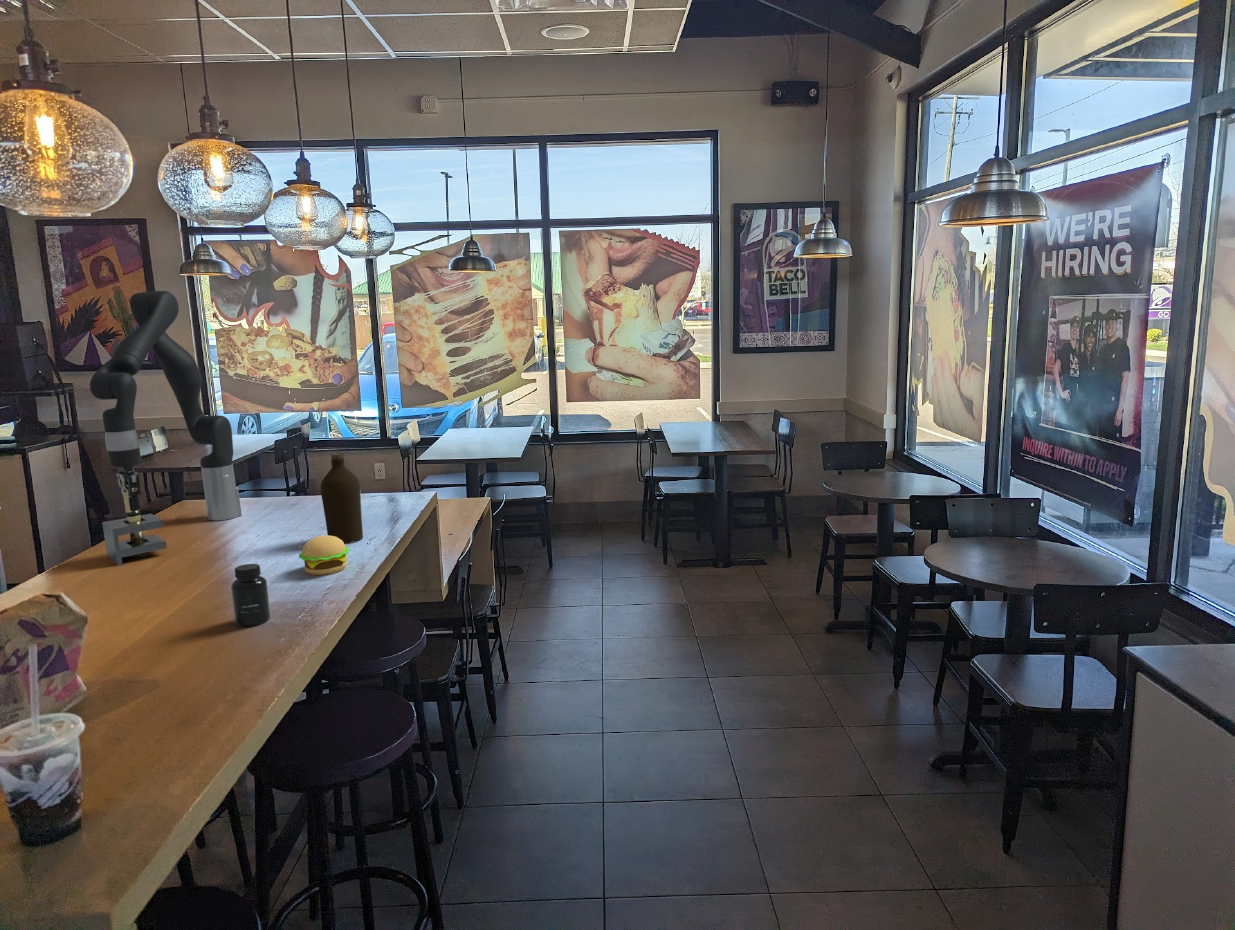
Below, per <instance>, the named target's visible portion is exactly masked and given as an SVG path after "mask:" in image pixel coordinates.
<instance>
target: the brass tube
mask: <svg viewBox="0 0 1235 930" xmlns="http://www.w3.org/2000/svg"><path fill="white" fill-rule="evenodd" d="M133 491H134V490H133ZM133 491H132V492H133ZM122 496H123V497H124V498H123V503H125V504H124V508H125V514H126V515H125V516H126V517H125V518H127V522H128V524H130V523H135V522H140V521H141V516H140V515H141V509H140V510H138V511H131V510H130V505H129V499H128V496H127V491H126V492H123V495H122ZM128 535H129V539H130V540H131V545H135V544H140V543H145V541H144V536H145V535H144V531H140V532H135V533H129V534H128ZM146 556H147V552H146V553H141V554H136V555H132V557H133V558H142V557H146Z"/></svg>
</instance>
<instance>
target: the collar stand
mask: <svg viewBox="0 0 1235 930" xmlns="http://www.w3.org/2000/svg"><path fill="white" fill-rule="evenodd" d="M140 516H141V521H140V522H135V523H130V524H128V522H127V517H124V518H119V519H113V520H108V521H102V522H101V524H102V531H103V536H104V541H105V549H106V554H107V558H108V559H109V558H110V559H111V561H112V562H113V561H114V562H115V563H116V564H115V563H114V562H113V563H114V564H115V565H116V566H118V565H119V566H122V565H123V560H122V558H126V557H130V556H133V555H136V554H141V553H146V554H147V553H149V552H155V551H158V550H159V551H161V550H165V549H167V548H168V547H167V541H166V540H165V539H163V538H162V537H160V536H158V535H157V534H155V533H153V534H146V535H144V541H145V543H140V544H135V545H131V540H130V538H128V539H127V538H126V539H122V540H119V536H123V535H130V534H129V533H135V532H140V531H143V532H144V531H149V530H155V529H160V528H164V527H165V526H164V521H163V519H162V518H160V517H159V516H156V515H154V514H153V513H148V514H140ZM110 559H109V560H110Z"/></svg>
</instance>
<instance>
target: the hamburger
mask: <svg viewBox="0 0 1235 930" xmlns="http://www.w3.org/2000/svg"><path fill="white" fill-rule="evenodd" d="M349 552H350V548H349V547H348V545H347V546H346V544H344V542H343V541H342V540H341V539H339V538H337V537H335V536H329V535H328V534H327V535H326V534H325V535H318V536H316V537H314V538H311V539H309V540H308V541H306V543H305V544H304V545H303V547H302V549H301V552H299V554H298V558H299V559H301V560H302V561H304V567H303V568H304V570H305V572H306V573H307V574H308V575H311V576H326V575H331V574H336V573H339V572H341V571H343V570H345V568H346V566H347V563H348V562H347V559H348V556H347V554H349Z"/></svg>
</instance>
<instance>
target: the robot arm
mask: <svg viewBox="0 0 1235 930" xmlns="http://www.w3.org/2000/svg"><path fill="white" fill-rule="evenodd" d="M129 307H130V312H131V315H132V317H133V318H134V321H135V322H136V323H137V325H138V327H137V328H136V329H134V330H133V331H132V332H130V333H129V334H128V335H127V336H126V337H124V338H123V339H122V340H121V341H120V342H119V343H118V344H119V345H118V346H117V347H116V349H115V350H114V353H113V355H112V356H111V358H110V359H109V360H107V361H106V362H105V363H104V364H103V365H102V366H100V367H99V368H98V369H97V370H96V371H95V373H93V374H92V376H91V378H90V382H89V391H90V393H91V394H92V396H93V397H94V398H96V399H99V400H116V404H115V406H114V407H112V408H107V409H105V410H104V411H103V412H102V421H103V429H104V435H105V436H104V437H105V438H104V439H105V440H104V441H105V449H106V455H107V461H108V465H109V467H111V468H112V467H113V468H118V469H116V470H115V475H116V479H117V484H118V488H119V492H120V493H121V495H122V496H123V492H126V491H127V496H128V499H129V505H130V510H131V511H138V510H140V511H141V507H140V505H141V504H140V500H139V497H140V496H141V494H142V493H141V485H140V483H141V481H140V474H138V472H137V470H135V467H134V466H136V465H139V464H141V463H142V456H141V450H140V441H139V438H138V433H137V430H136V423H135V415H134V413H135V412H134V411H135V404H136V399H137V391H138V389H137V388H138V385H137V382H136V379H135V378H134V377H133V376H135V375H136V374H138V372H139V371H140V369H141V367H142V365H143V364H144V362H145V360H146V358H147V356H148V354H149V352H150V351H151V349H152V351H153V352H154V354H155V356H156V358H157V360H158V362H159V365H160V367H161V369H162V372H163V374H164V376H165V378H166V381H167V382H168V385H169V386H170V388H171V390H172V391H173V395H174V397H175V399H176V401H177V403H178V406H179V407H180V410H181V413H182V416H183V418H184V421H185V425H186V428H187V430H188V433H189V435H190V436H191V438H192V440H193V441H194V442H195V443H196V444H198V445H203V446H206V445H207V446H208V445H209V446H211V445H212V447H211V448H212V449H211V450H212V451H211V452H210V453H209V454H207V455H204V456H202V457H201V458H200V470H201V477H202V483H203V490H204V497H205V498H204V500H205V504H206V505H205V506H206V512H207V513H206V514H207V519H208V520H209V521H224V520H225V521H227V520H230V519H235V518H238V517H241V516H243V515H242V507H241V499H240V498H241V497H240V492H239V491H240V490H239V487H238V486H236V484H237V483H236V478H235V471H234V464H233V458H234V457H233V456H234V444H233V443H234V441H233V430H232V426H231V422H230V420H229V419H228V418H227V417H226V416H224V415H205V414H204V411H203V409H202V407H201V404H200V400H199V399H200V394H201V389H202V385H203V384H202V383H203V377H202V373H201V371H200V369H199V366H198V364H197V362H196V360H195V358H194V357H193V355H192V354H191V353H190V352H189V351H188V350H186V349H185V348H184V347H183V346H182V345H180V344H179V343H178V342H176V341H175V340H174V339H173V338H171V336H170V335H168V333H167V332H166V331H167V330H168V329H169V327H170V326H171V325H172V324H173V323H174V321H176V320H177V317H178V315H179V311H180V310H179V302H178V300H177V298H176V296H175V295H174V294H173V293H172V292H170V291H167V290H154V291H153V290H152V291H142V292H136V293H133V294H132V295H131V297H130V299H129ZM132 491H133V492H132ZM123 499H124V497H123ZM123 503H124V502H123ZM124 505H125V503H124Z"/></svg>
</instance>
